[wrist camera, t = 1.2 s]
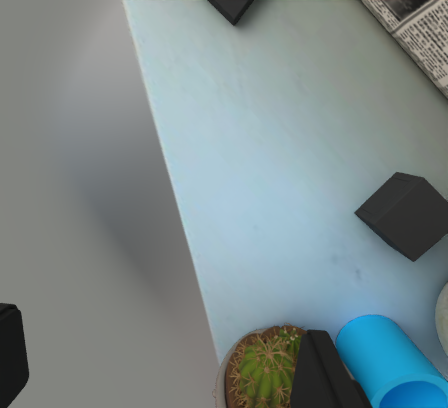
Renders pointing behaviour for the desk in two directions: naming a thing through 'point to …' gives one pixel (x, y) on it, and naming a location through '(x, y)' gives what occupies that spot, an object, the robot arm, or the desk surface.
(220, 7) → the base pad
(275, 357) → the flowerpot
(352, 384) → the robot arm
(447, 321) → the decorative sphere
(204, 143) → the desk surface
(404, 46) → the newspaper
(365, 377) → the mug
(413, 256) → the pad
